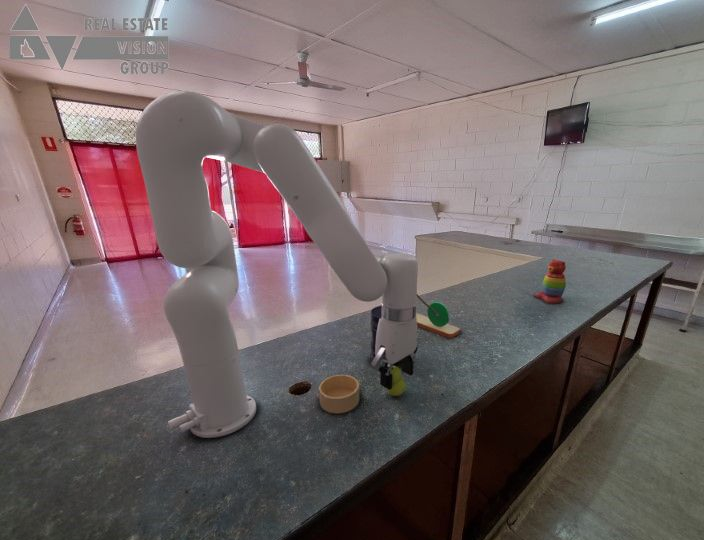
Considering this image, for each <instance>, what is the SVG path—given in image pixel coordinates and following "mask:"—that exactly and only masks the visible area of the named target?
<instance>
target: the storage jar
mask: <svg viewBox="0 0 704 540" xmlns="http://www.w3.org/2000/svg"><path fill="white" fill-rule="evenodd" d="M380 318H382V305H378V306H375V307H373V308H372V309H371V310H370V331H371V341H370V356H371V357H370V358H371V359H370V360H371V362H372V361H373V360H374V358H375V346H376V334H377V327H378V323H379V319H380ZM387 366H388V363H385V366H384V368H386V369H387ZM393 366H396V367H398V368H399V367H402V359H401V360H399V361H398V362H396V363H394V364H393Z"/></svg>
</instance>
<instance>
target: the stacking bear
mask: <svg viewBox="0 0 704 540" xmlns="http://www.w3.org/2000/svg"><path fill="white" fill-rule="evenodd" d="M566 267H567V266H566V262H565V261H563V260H559V259H558V260H556V259H555V258H554V259H552V260H551V262H549V264H548V265H547V271H548V272H547V273H546V274H545V276H544V278H543V280H542V283H541V284H542V285H541V289H542V291H539V292H536V293H535V295H534V297H535V298H537V299H541V300H543V301H545V303H547V304H558V303H561V302H562V301H563V295H564V293H565V290H566V286H567V280H566V275H565V274H564V272H565V271H566Z"/></svg>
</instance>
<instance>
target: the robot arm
mask: <svg viewBox="0 0 704 540" xmlns="http://www.w3.org/2000/svg"><path fill="white" fill-rule="evenodd" d="M135 148H136V153H137V157H138V163H139V166H140V170H141V174H142V178H143V182H144V187H145V191H146V197H147V202H148V206H149V211H150V216H151V220H152V221H151V222H152V224H153V230H154V234H155V239H156V244H157V247H158V249H159V252H160V254H161V255H162V257H163V258H164V259H165V260H166V261H167V262H168V263H170V264H171V265H173V266H175V267H177V268H180V269H181V268H182V269H185V271H186V273H184V275H182V276H181V277H179V278H178V279H177V280H175V281H174V282H173V283H172V284H171V286H170V287H169V288H168V289H167V292H166V293H165V296H164V299H163V312H164V316H165V318H166V319H167V322H168V323H169V326H170V328H171V330H172V332H173V334H174V336H175V340H176V343H177V345H178V349H179V353H180V357H181V360H182V364H183V368H184V371H185V372H184V373H185V376H186V380H187V384H188V387H189V392H190V395H191V398H192V399H191V400H192V403H190V404H189V405H188V407H189V410H187V411H184V412H185V413H184V414H182V415H180V416H177V417H175V418H172V419H171V420H168V421H167V427H168V429H169V430H170V431H174V430H176V429H178V428H179V430H180V432H181V433H184V432H186V431H189V430H190V432H191V433H192V435H195V436H196V437H199V438H206V439H210V438H212V439H213V438H220V437H224V436H227V435H231V434H232V433H235V432H237V431H238V430H240V429H242V428H243V427H245V426H247V424H249V423H250V422H251V421H252V419H253V418H254V417H255V415H256V414H257V413H256V412H257V403H256V400H255V399H254V398H253V397H252V396H250V395H248V394H247V391H246V386H245V379H244V375H243V369H242V364H241V358H240V357H241V356H240V351H239V347H238V341H237V336H236V332H235V329H234V325H233V323H232V320H231V317H230V314H229V309H230V308H229V307H230V306H231V304H232V302H233V301H234V300H235V298H236V297H237V294H238V292H239V286H240V282H239V279H240V278H239V272H238V267H237V260H236V259H237V258H236V252H235V251H236V250H235V247H234V246H235V245H234V238H233V234H232V230H231V228H230V226H229V224H228V222H227V221H226V220H225V218H224V217H222V216H221V215H220V214H219V213H217V211H214V210H212V205H211V200H210V192H209V185H208V182H207V179H206V176H205V173H204V170H203V164H204V160H205V159H206V158H209V159H214V160H218V161H222V162H226V163H229V164H232V165H236V166H239V167H242V168H246V169H249V170H253V171H255V172H260V173H264V174H265V176H266V177H267V179H268V180H269V181H270V182H271V184H272V186H274V188H275V189H276V190H277V192H278V193H279V194H280V196H281V197H282V199H283V200H284V201H285V203H286V204H287V205H288V207H289V208H290V210H291V211H292V213H293V215H295V217H296V219H297V220H298V221H299V222H300V224H301V226H302V227H303V228H304V230H305V232H306V234H307V235H308V236H309V238H310V239H311V240H312V242H314V244H315V245H316V247H317V248H318V250H319V251H320V252H321V254H322V255H323V257H324V259H325V260H326V261H327V263H328V265H329V266H330V267H331V269H332V270H333V272H334V273H335V275H336V276H337V277H338V278H339V280H340V281H341V283H342V284H343V285H344V287H345V288H346V289H347V291H348V292H349V294H350V295H352V296H353V297H354V298H355V299H357V300H359V301H361V302H367V303H368V302H374V301H377V300H379V299H380V298H381V306H382V318H380V319H379V323H378V327H377V334H376V346H375V358H374V360H373V361H372V360H371V363H370V366H372V368H374V369H375V370H376V371H377V372H379V379H380V380H379V385H380V386H382V387H383V388H385V389H386V388H387V389H389V390H391V389H392V374H391V370H392V367H393V364H394V363H396V362H398V361H399V360H401V359H402V365H401V373H402V372H403V373H404V374H406V375H409V376H413V375H414V364H415V363H414V360H415V359H416V353H417V351H418V350H419V349H418V348H419V345H420V344H421V342H422V339H421V338H420V337H419V336H418V326H417V319H416V313H417V299H418V297H417V294H418V277H419V276H418V274H419V273H418V272H419V262H418V259H417V257H416V256H414V255H412V254H408V253H392V254H391V253H390V254H378V253H374V252H373V251H372V250H371V248H370V246H369V245H368V243H367V241H366V240H365V239H364V237H363V235H362V234H361V232H360V231H359V229H358V227H357V226H356V224H355V223H354V220H353V219H352V217H351V215H350V213H349V211H348V209H347V207H346V205H345V203H344V202H343V201H342V199H341V197H340V196H339V194H338V193H337V191H336V189H335V188H334V187H333V185H332V184H331V182H330V181H329V179H328V177H327V176H326V174H325V173H324V171H323V170H322V168H321V167H320V165H319V163H318V162H317V160H316V159H315V156H314V155H313V154H312V152H311V151H310V149H309V148H308V146H307V145H306V143H305V141H304V140H303V139H302V137H301V136H300V135H299V133H298V132H297V131H296V130H295V129H293V128H292V127H290V126H289V125H286V124H283V123H271V124H263V123H260V122H257V121H255V120H251V119H249V118H247V117H244V116H240V115H237V114H235V113H232V112H230V111H227V110H226V109H225V108H224V107H222V106H221V105H220V104H219V103H217V102H216V101H215V100H213V99H212V98H210V97H208V96H206V95H204V94H201V93H198V92H195V91H190V90H176V91H171V92H167V93H165V94H162V95H160V96H158V97H157V98H155V99H154V100H152V101H150V103H149V104H148V105H147V106H146V107H145V108H144V109H143V110H142V112H141V114H140V116H139V117H138V121H137V124H136V128H135ZM385 363H388V366H387V368H384V366H385ZM387 389H386V390H387Z"/></svg>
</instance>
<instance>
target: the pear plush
mask: <svg viewBox="0 0 704 540" xmlns="http://www.w3.org/2000/svg"><path fill="white" fill-rule="evenodd" d="M391 374H392V389H391V390H389V389H387V388H385V389H386V391H387V393H388V394H389V395H391V396H393V397H399V396H401V395H403V394H404V392H405V391H406V388H407V383H406V380H405V379H404V378H403V377H402V369H401V368H399V367H396V366H393V367H392V370H391Z"/></svg>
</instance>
